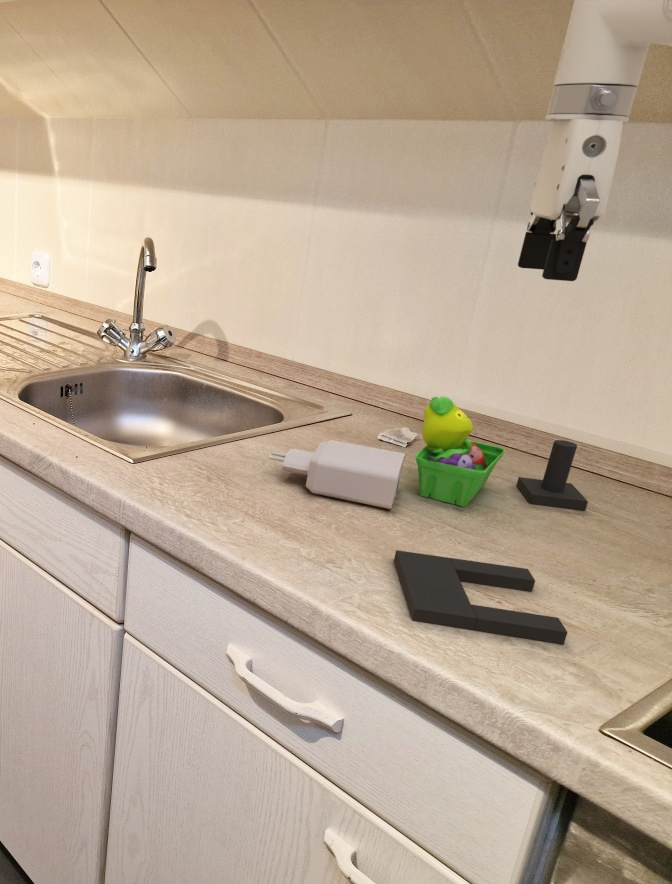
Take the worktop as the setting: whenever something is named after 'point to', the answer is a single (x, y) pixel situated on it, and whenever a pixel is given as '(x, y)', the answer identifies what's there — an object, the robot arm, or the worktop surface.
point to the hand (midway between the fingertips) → (544, 273)
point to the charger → (348, 471)
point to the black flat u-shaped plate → (446, 603)
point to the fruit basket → (452, 455)
